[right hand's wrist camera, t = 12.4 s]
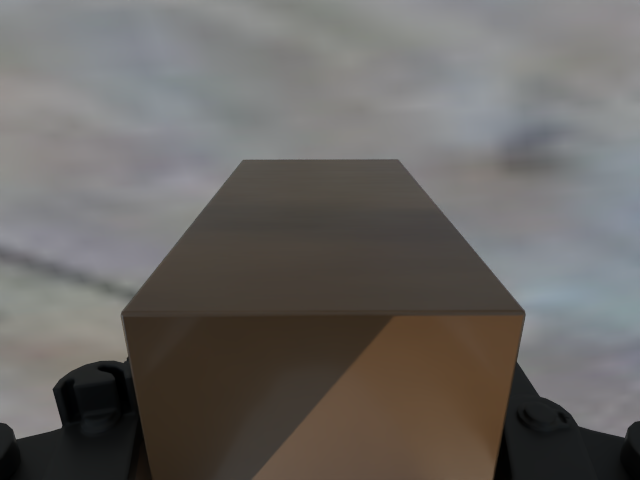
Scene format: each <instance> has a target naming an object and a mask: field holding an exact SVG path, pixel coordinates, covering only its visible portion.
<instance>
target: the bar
mask: <svg viewBox="0 0 640 480" xmlns="http://www.w3.org/2000/svg"><path fill="white" fill-rule="evenodd" d="M121 320H122V325H123V330H124V336H125V341H126V346H127V351H128V357H129V362H130V367H131V372H132V378H133V383H134V388H135V393H136V399H137V404H138V409H139V414H140V420H141V425H142V430H143V435H144V440H145V446H146V451H147V456H148V461H149V467H150V472H151V477H152V480H494V476H495V471H496V466H497V461H498V456H499V451H500V445H501V440H502V435H503V430H504V425H505V419H506V414H507V409H508V404H509V399H510V393H511V388H512V383H513V378H514V373H515V367H516V362H517V357H518V352H519V347H520V341H521V336H522V331H523V326H524V321H525V311H524V309H523V308H522V307H521V306H520V305H519V303H518V302H517V301H516V300H515V299H514V297H513V296H512V295H511V294H510V293H509V291H508V290H507V289H506V288H505V287H504V286H503V284H502V283H501V282H500V281H499V280H498V278H497V277H496V276H495V275H494V274H493V272H492V271H491V270H490V269H489V268H488V266H487V265H486V264H485V263H484V262H483V260H482V259H481V258H480V257H479V256H478V254H477V253H476V252H475V251H474V250H473V248H472V247H471V246H470V245H469V244H468V242H467V241H466V240H465V239H464V238H463V236H462V235H461V234H460V233H459V232H458V230H457V229H456V228H455V227H454V226H453V224H452V223H451V222H450V221H449V220H448V218H447V217H446V216H445V215H444V214H443V212H442V211H441V210H440V209H439V208H438V206H437V205H436V204H435V203H434V202H433V201H432V199H431V198H430V197H429V196H428V195H427V193H426V192H425V191H424V190H423V189H422V187H421V186H420V185H419V184H418V183H417V181H416V180H415V179H414V178H413V177H412V175H411V174H410V173H409V172H408V171H407V169H406V168H405V167H404V166H403V165H402V163H401V162H400V161H399V160H397V159H391V160H242V162H241V163H240V164H239V165H238V167H237V168H236V169H235V170H234V172H233V173H232V174H231V175H230V177H229V178H228V179H227V180H226V182H225V183H224V184H223V186H222V187H221V188H220V189H219V191H218V192H217V193H216V194H215V196H214V197H213V198H212V199H211V201H210V202H209V203H208V204H207V206H206V207H205V208H204V209H203V211H202V212H201V213H200V214H199V216H198V217H197V218H196V219H195V221H194V222H193V223H192V224H191V226H190V227H189V228H188V229H187V231H186V232H185V233H184V234H183V236H182V237H181V238H180V239H179V241H178V242H177V243H176V244H175V246H174V247H173V248H172V249H171V251H170V252H169V253H168V254H167V256H166V257H165V258H164V259H163V261H162V262H161V263H160V264H159V266H158V267H157V268H156V269H155V271H154V272H153V273H152V274H151V276H150V277H149V278H148V280H147V281H146V282H145V283H144V285H143V286H142V287H141V288H140V290H139V291H138V292H137V293H136V295H135V296H134V297H133V298H132V300H131V301H130V302H129V303H128V305H127V306H126V307H125V308H124V310H123V311H122V313H121Z"/></svg>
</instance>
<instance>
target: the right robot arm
mask: <svg viewBox="0 0 640 480" xmlns="http://www.w3.org/2000/svg"><path fill="white" fill-rule="evenodd" d="M53 392H54V396H55V400H56V403H57V407H58V411H59V414H60V418H61V422H62V425H63V426H62V428H61V429H57V430H54V431H51V432H47V433H42V434H38V435H34V436H30V437H25V438H21V439H17V440H16V438H15V435H14V432H13V429H11V428H10V427H9V426H8V425H7V424H4V423H0V480H152V477H151V472H150V467H149V461H148V456H147V451H146V446H145V440H144V435H143V430H142V425H141V420H140V414H139V409H138V404H137V399H136V393H135V388H134V383H133V378H132V372H131V367H130V362H129V357H128V358H127V361H125V362H124V363H121V362H117V361H99V362H95V363H90V364H86V365H84V366H82V367H79V368H77V369H75V370H73V371H71V372H69V373H68V374H67V375H65V376H64V377H63V378H61V379H60V380H59V381H58V383H57V384H56V385H55V387H54V388H53ZM494 480H640V421H638V422H634V423H633V424H632V425H631V426H630V427H629V428H628V430H627V433H626V436H625V438H623V437H619V436H614V435H610V434H606V433H601V432H597V431H593V430H589V429H586V428H582V427H579V426H578V425H577V423H576V422H575V420H574V419H573V417H572V416H571V414H570V413H568V412H567V411H566V410H565V409H564V408H562V407H561V406H560V405H558V404H556V403H554V402H552V401H550V400H548V399H546V398H542V397H540V396H539V395H538V393H537V392H536V390H535V389H534V387H533V386H532V384H531V383H530V381H529V380H528V378H527V377H526V375H525V373H524V372H523V370H522V369H521V367H520V366H519V364H518V363H517V362H516V367H515V373H514V378H513V383H512V388H511V393H510V399H509V404H508V409H507V414H506V419H505V425H504V430H503V435H502V440H501V445H500V451H499V456H498V461H497V466H496V471H495V476H494Z"/></svg>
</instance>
